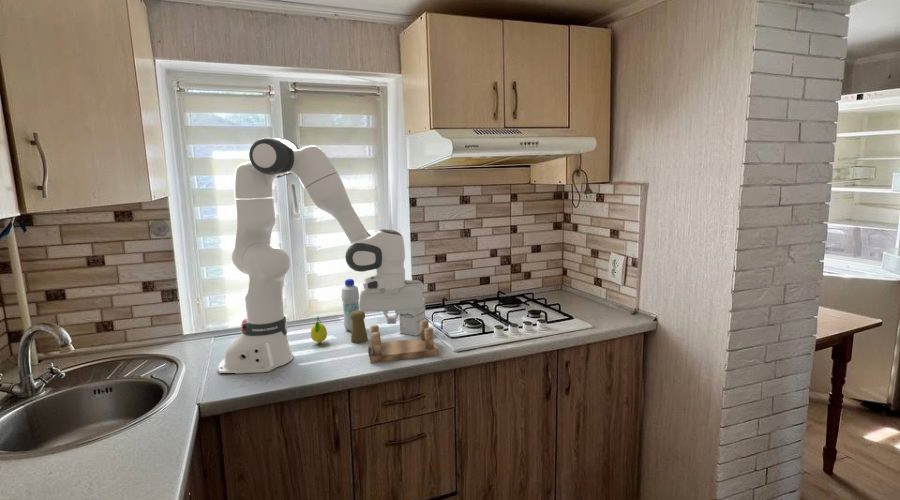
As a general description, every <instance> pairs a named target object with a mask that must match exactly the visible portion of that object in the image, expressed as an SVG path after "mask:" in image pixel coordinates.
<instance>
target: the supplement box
mask: <svg viewBox="0 0 900 500" xmlns="http://www.w3.org/2000/svg"><path fill="white" fill-rule="evenodd" d="M398 317H399V333H400V334H404V335H409V336H415V337H417V336H418V335H421V326H420V321H421V320H427V319H426V298H424V297H423V307H422V308H421V309H409V310H400V314H399V315H398Z"/></svg>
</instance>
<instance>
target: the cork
mask: <svg viewBox="0 0 900 500" xmlns="http://www.w3.org/2000/svg"><path fill="white" fill-rule="evenodd" d="M350 317H351V320H352V332H351V335H350V336H351V337H350V342H351V343H352V344H357V345H358V344H359V345H360V344H364V343H366V342H368V341H369V339H368V334H367V330H366V323H365V319H366V312H362V311H361V310H360V309H359V310H356V311H353V312H352V313H351V315H350Z"/></svg>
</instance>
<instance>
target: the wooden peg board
mask: <svg viewBox="0 0 900 500" xmlns="http://www.w3.org/2000/svg"><path fill="white" fill-rule="evenodd" d="M429 325H430V324H429V320H428V319H426V320H421V321H420V326H421V333H420V338H409V339H401V340H391V341H384V342H383V341H382V342H381V354H378V355H374V354H373V352H372V337H371V336H370V343H367V353H368V357H369V363H370V364H374V363H382V362H391V361H398V360H399V361H401V360H406V359H414V358H415V359H416V358H423V357H430V356H431V357H432V356H433V357H434V356H438V355H439V347H438V346H437V344H436V342H435V339H434V328H433V327H430V326H429ZM369 331H370V335H371V334H372V333H374V332H379V333H380V327H379V325H378V324H377V325H376V324H374V325H370V327H369Z"/></svg>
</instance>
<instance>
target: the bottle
mask: <svg viewBox="0 0 900 500" xmlns="http://www.w3.org/2000/svg"><path fill="white" fill-rule="evenodd" d="M359 300H360V292H359V288H358V286H357V285H355V280H354V279H353V278H348V279H345V281H344V286H343V287H341V301H342V308H343V309H342V310H343V311H342V312H343V327H344V329H345V331H346V332H351V333H352V320H351V317H350V315H351V313H352V312H353V311H356V310H360V309H359Z"/></svg>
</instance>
